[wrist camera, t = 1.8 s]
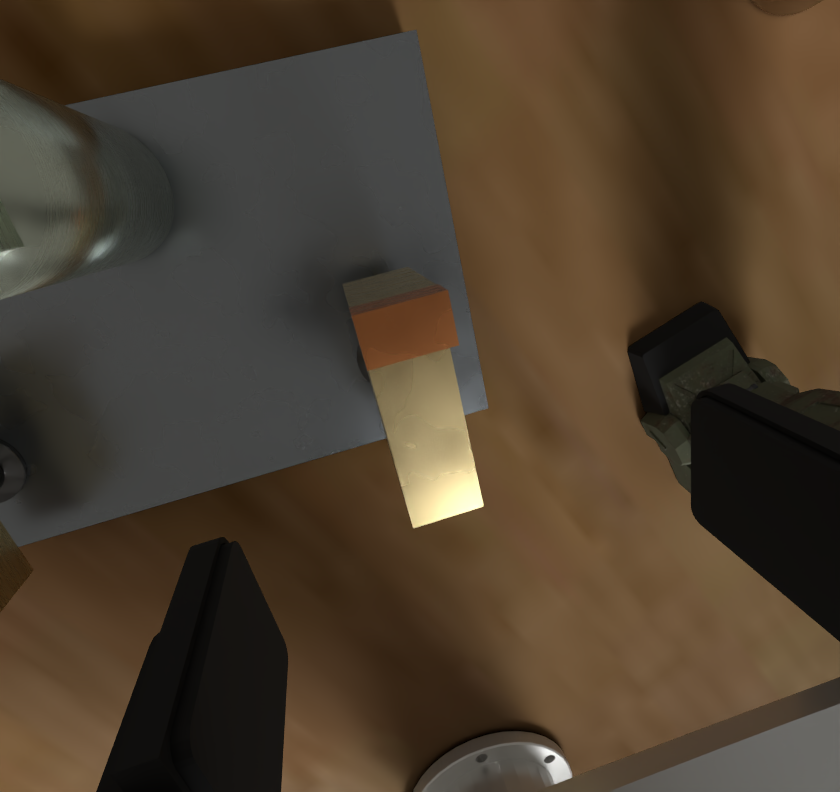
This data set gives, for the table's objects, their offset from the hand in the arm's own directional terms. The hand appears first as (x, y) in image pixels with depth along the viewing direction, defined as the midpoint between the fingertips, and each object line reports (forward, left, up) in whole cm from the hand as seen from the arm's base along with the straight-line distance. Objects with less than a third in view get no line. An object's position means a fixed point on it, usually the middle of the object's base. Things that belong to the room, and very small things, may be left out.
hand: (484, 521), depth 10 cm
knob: (0, 0, -14) cm, 14 cm away
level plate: (+4, +9, -16) cm, 19 cm away
